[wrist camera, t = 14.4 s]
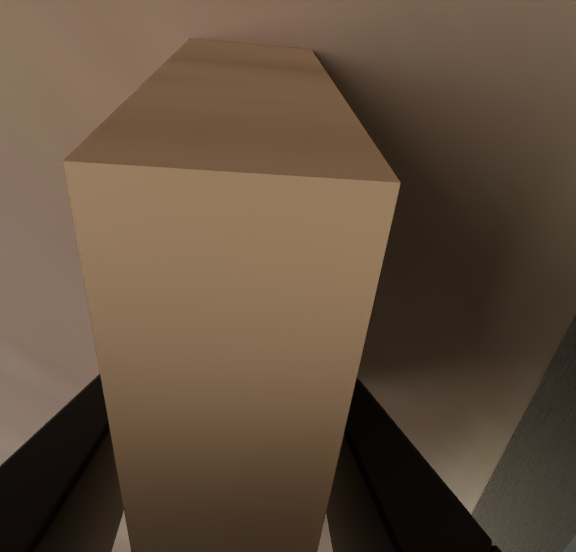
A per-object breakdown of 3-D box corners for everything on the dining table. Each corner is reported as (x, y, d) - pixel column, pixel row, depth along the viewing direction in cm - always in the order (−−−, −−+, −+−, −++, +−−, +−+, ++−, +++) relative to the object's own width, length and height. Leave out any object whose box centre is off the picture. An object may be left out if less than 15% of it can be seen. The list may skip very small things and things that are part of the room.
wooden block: (276, 387, 12) (288, 678, 7) (198, 385, 12) (154, 682, 7) (311, 48, 8) (402, 183, 3) (190, 38, 8) (62, 161, 3)
